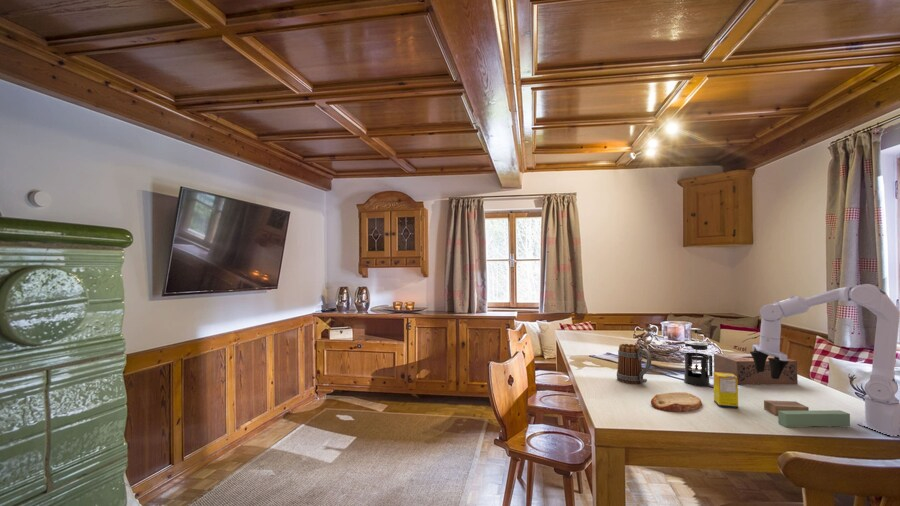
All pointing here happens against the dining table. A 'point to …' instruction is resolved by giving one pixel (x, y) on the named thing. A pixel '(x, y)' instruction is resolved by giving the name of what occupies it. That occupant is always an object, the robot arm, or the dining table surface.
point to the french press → (691, 377)
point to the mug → (632, 364)
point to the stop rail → (813, 418)
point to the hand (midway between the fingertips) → (767, 375)
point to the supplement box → (725, 390)
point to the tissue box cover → (754, 370)
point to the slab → (783, 406)
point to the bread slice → (676, 402)
